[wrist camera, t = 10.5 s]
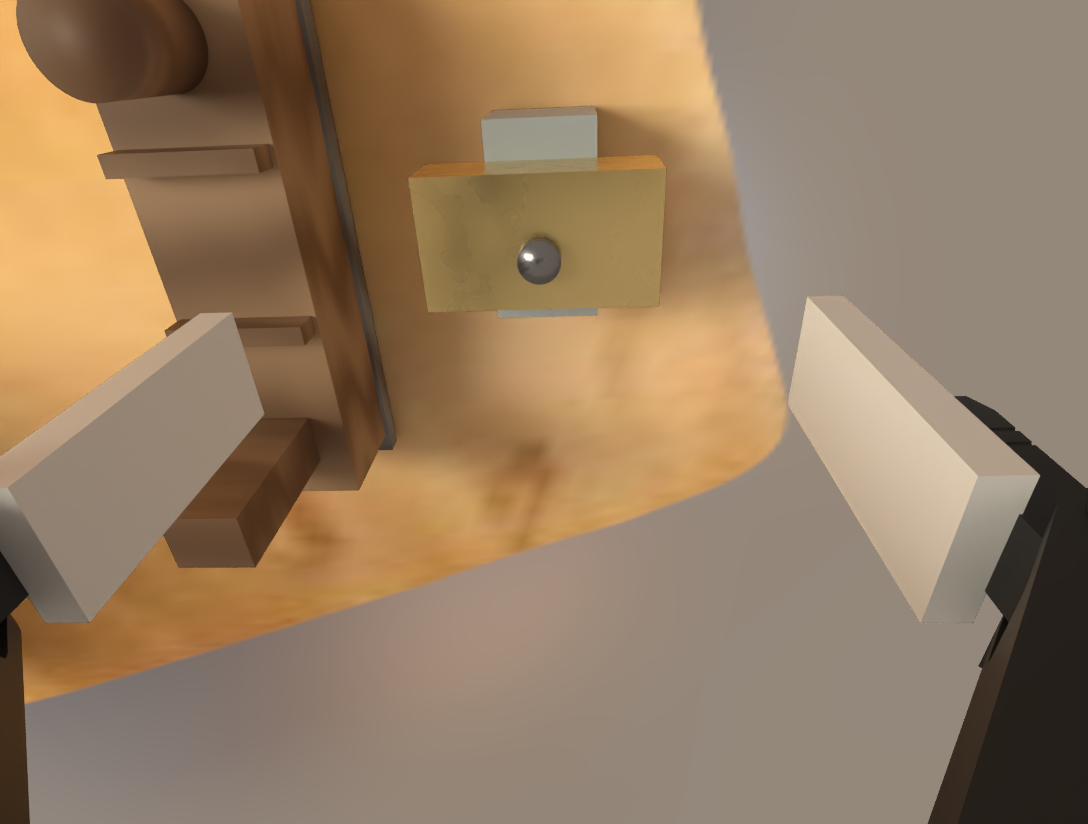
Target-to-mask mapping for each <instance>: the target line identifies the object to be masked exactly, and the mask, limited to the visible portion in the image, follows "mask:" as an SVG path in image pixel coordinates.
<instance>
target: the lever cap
mask: <svg viewBox="0 0 1088 824" xmlns="http://www.w3.org/2000/svg"><path fill="white" fill-rule="evenodd" d="M666 171H667V168H666V167H665V165H664V164H663V163H662V161H661V160H660V159H659V158H658V156H657V155H642V156H617V157H592V158H567V159H543V160H518V161H493V162H468V163H444V164H425V165H424V166H423V167H421V168H420V169H419V170H418V171H416V172H415V173H414V174H413V175H411V176H410V177H409V178H408V182H409V189H410V196H411V202H412V209H413V216H414V223H415V229H416V236H417V243H418V250H419V256H420V263H421V270H422V277H423V283H424V290H425V297H426V304H427V310H428V312H461V311H499V310H537V309H575V308H613V307H651V306H659V299H660V281H661V263H662V244H663V226H664V208H665V189H666Z"/></svg>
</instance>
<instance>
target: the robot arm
mask: <svg viewBox="0 0 1088 824" xmlns="http://www.w3.org/2000/svg"><path fill="white" fill-rule="evenodd" d="M788 406H789V407H790V409H791V411H792V412H793V414H794V415H795V417H796V419H797V420H798V422H799V424H800V425H801V427H802V429H803V430H804V432H805V433H806V435H807V437H808V438H809V440H810V442H811V443H812V445H813V447H814V448H815V450H816V452H817V453H818V455H819V457H820V458H821V460H822V462H823V463H824V465H825V466H826V468H827V470H828V471H829V473H830V475H831V476H832V478H833V479H834V481H835V483H836V485H837V486H838V488H839V489H840V491H841V493H842V494H843V496H844V498H845V499H846V501H847V503H848V504H849V506H850V508H851V509H852V511H853V513H854V514H855V516H856V518H857V519H858V521H859V522H860V524H861V526H862V527H863V529H864V531H865V532H866V534H867V536H868V537H869V539H870V540H871V542H872V544H873V545H874V547H875V549H876V550H877V552H878V554H879V555H880V557H881V559H882V560H883V562H884V564H885V565H886V567H887V569H888V570H889V572H890V573H891V575H892V577H893V578H894V580H895V582H896V583H897V585H898V587H899V588H900V590H901V592H902V593H903V595H904V596H905V598H906V600H907V601H908V603H909V605H910V606H911V608H912V610H913V611H914V613H915V615H916V616H917V618H918V620H919V621H920V623H973V622H974V620H975V618H976V616H977V614H978V611H979V609H980V607H981V605H982V603H983V600H984V598H985V596H986V594H988V596H989V597H990V598H991V600H992V601H993V602H994V604H995V605H996V606H997V608H998V609H999V610H1000V612H1001V613H1002V614H1003V617H1002V619H1001V621H1000V623H999V625H998V627H997V629H996V631H995V633H994V635H993V637H992V639H991V642H990V644H989V646H988V648H987V650H986V652H985V654H984V656H983V658H982V660H981V662H980V664H979V667H981V668H982V671H981V673H980V676H979V679H978V682H977V685H976V688H975V691H974V693H973V696H972V699H971V702H970V705H969V708H968V710H967V714H966V716H965V719H964V722H963V725H962V728H961V730H960V733H959V736H958V739H957V742H956V745H955V747H954V750H953V753H952V756H951V759H950V762H949V765H948V768H947V770H946V773H945V776H944V779H943V782H942V784H941V787H940V790H939V793H938V796H937V799H936V801H935V805H934V807H933V810H932V813H931V816H930V819H929V821H928V824H1088V488H1085V487H1084V486H1083V485H1082V484H1081V483H1079V482H1078V481H1077V480H1076V479H1075V478H1073V477H1072V476H1071V475H1070V474H1069V473H1068V472H1066V471H1065V470H1064V469H1063V468H1062V467H1061V466H1059V465H1058V464H1057V463H1056V462H1055V461H1054V460H1052V459H1051V458H1050V457H1049V456H1048V455H1047V454H1045V453H1044V452H1043V451H1042V450H1040V449H1039V448H1038V447H1037V446H1036V445H1032V444H1031V441H1030V440H1029V439H1028V438H1027V437H1026V436H1024V435H1023V434H1022V433H1021V432H1020V431H1015V427H1014V426H1013V425H1012V424H1010V423H1009V422H1008V421H1007V420H1006V419H1005V418H1003V417H1002V416H1001V415H999V413H998V412H996V411H995V410H993V409H991V408H989V407H987V406H985V405H983V404H981V403H979V402H977V401H975V400H973V399H971V398H969V397H967V396H953V395H952V394H950V393H949V392H948V391H947V390H946V389H945V388H944V387H943V386H942V385H940V383H938V382H937V381H936V380H935V379H934V378H933V377H932V376H931V375H930V374H928V373H927V372H926V371H925V370H924V369H923V368H922V367H921V366H920V365H919V364H918V363H916V362H915V361H914V360H913V359H912V358H911V357H910V356H909V355H907V353H905V352H904V351H903V350H902V349H901V348H900V347H899V346H898V345H897V344H896V343H894V342H893V341H892V340H891V339H890V338H889V337H888V336H887V335H886V334H885V333H884V332H882V331H881V330H880V329H879V328H878V327H877V326H876V325H875V324H874V323H873V322H871V321H870V320H869V319H868V318H867V317H866V316H865V315H864V314H863V313H862V312H860V311H859V310H858V309H857V308H856V307H855V306H854V305H853V304H852V303H851V302H850V301H848V300H847V299H846V298H845V297H844V296H843V295H841V296H809V297H807V302H806V307H805V313H804V318H803V324H802V329H801V335H800V340H799V346H798V351H797V357H796V362H795V367H794V373H793V379H792V384H791V389H790V395H789V400H788ZM263 415H264V411H263V408H262V405H261V402H260V398H259V395H258V392H257V389H256V386H255V383H254V380H253V377H252V373H251V370H250V367H249V364H248V361H247V358H246V355H245V351H244V348H243V345H242V342H241V339H240V336H239V333H238V330H237V326H236V323H235V320H234V317H233V314H232V312H229V313H200V314H199V315H197V316H196V317H194V318H193V319H192V320H190V321H189V322H187V323H186V324H185V325H183V326H182V327H180V328H179V329H178V330H176V331H175V332H173V333H172V334H171V335H169V336H168V337H166V338H165V339H164V340H162V341H161V342H159V343H158V344H157V345H155V346H154V347H152V348H151V349H150V350H148V351H147V352H145V353H144V354H143V355H141V356H140V357H138V358H137V359H136V360H134V361H133V362H131V363H130V364H129V365H127V366H126V367H124V368H123V369H122V370H120V371H119V372H117V373H116V374H115V375H113V376H112V377H111V378H109V379H108V380H106V381H105V382H104V383H102V384H101V385H99V386H98V387H97V388H95V389H94V390H92V391H91V392H90V393H88V394H87V395H85V396H84V397H83V398H81V399H80V400H78V401H77V402H76V403H74V404H73V405H71V406H70V407H69V408H67V409H66V410H64V411H63V412H62V413H60V414H59V415H57V416H56V417H55V418H53V419H52V420H50V421H49V422H48V423H46V424H45V425H43V426H42V427H41V428H39V429H38V430H36V431H35V432H34V433H32V434H31V435H29V436H28V437H27V438H25V439H24V440H22V441H21V442H20V443H18V444H17V445H16V446H14V447H13V448H11V449H10V450H9V451H7V452H6V453H4V454H3V455H2V456H0V824H30V819H29V797H28V774H27V751H26V729H25V708H24V685H23V663H22V640H21V630H20V628H19V626H18V624H17V622H16V621H15V620H14V618H13V617H12V615H11V614H10V613H11V612H12V611H13V610H14V609H15V608H16V607H17V606H18V605H19V604H20V603H21V602H22V601H23V600H24V599H25V598H26V597H27V596H28V598H29V599H30V601H31V602H32V604H33V605H34V607H35V608H36V610H37V611H38V613H39V614H40V616H41V617H42V619H43V620H44V622H45V623H90V622H91V621H92V619H93V618H94V617H95V616H96V615H97V613H98V612H99V611H100V610H101V609H102V607H103V606H104V605H105V604H106V603H107V601H108V600H109V599H110V598H111V597H112V595H113V594H114V593H115V592H116V591H117V589H118V588H119V587H120V586H121V585H122V584H123V582H124V581H125V580H126V579H127V578H128V576H129V575H130V574H131V573H132V572H133V570H134V569H135V568H136V567H137V566H138V564H139V563H140V562H141V561H142V560H143V558H144V557H145V556H146V555H147V554H148V552H149V551H150V550H151V549H152V548H153V546H154V545H155V544H156V543H157V542H158V541H159V539H160V538H161V537H162V536H163V535H164V533H165V532H166V531H167V530H168V529H169V527H170V526H171V525H172V524H173V523H174V521H175V520H176V519H177V518H178V517H179V515H180V514H181V513H182V512H183V511H184V509H185V508H186V507H187V506H188V505H189V504H190V502H191V501H192V500H193V499H194V498H195V496H196V495H197V494H198V493H199V492H200V490H201V489H202V488H203V487H204V486H205V484H206V483H207V482H208V481H209V480H210V478H211V477H212V476H213V475H214V474H215V472H216V471H217V470H218V469H219V468H220V466H221V465H222V464H223V463H224V462H225V461H226V459H227V458H228V457H229V456H230V455H231V453H232V452H233V451H234V450H235V449H236V447H237V446H238V445H239V444H240V443H241V441H242V440H243V439H244V438H245V437H246V435H247V434H248V433H249V432H250V431H251V429H252V428H253V427H254V426H255V425H256V424H257V422H258V421H259V420H260V419H261V418H262V416H263Z"/></svg>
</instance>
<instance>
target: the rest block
mask: <svg viewBox="0 0 1088 824" xmlns="http://www.w3.org/2000/svg"><path fill="white" fill-rule="evenodd" d="M481 128H482V140H483V151H484V162H493V161H518V160H543V159H567V158H592V157H597V112H596V109H595V107H594V106H580V107H558V108H535V109H513V110H493V111H491V112H490V113H489V114H487V115H486V116H485V117H484V118H482V119H481ZM497 312H498V318H514V317H554V316H593V315H597V308H575V309H537V310H499V311H497Z"/></svg>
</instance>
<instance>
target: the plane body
mask: <svg viewBox="0 0 1088 824" xmlns="http://www.w3.org/2000/svg"><path fill="white" fill-rule="evenodd" d="M16 17H17V25H18V29H19V33H20V36H21V39H22V42H23V44H24V46H25V48H26V51H27V52H28V54H29V56H30V58H31V59H32V61H33V62H34V64H35V65H36V66H37V68H38V69H39V70H40V71H41V73H42V74H43V75H44V76H45V77H46V78H47V79H48V80H49V81H50V82H51V83H52V84H54V85H55V86H56V87H57V88H59V89H60V90H62V91H63V92H64V93H66V94H68V95H70V96H72V97H74V98H76V99H79V100H82V101H85V102H90V103H96V105H97V107H98V110H99V113H100V115H101V118H102V121H103V123H104V126H105V129H106V132H107V134H108V137H109V140H110V142H111V145H112V148H113V150H114V151H113V152H108V153H104V154H99V155H97V157H98V159H99V162H100V165H101V167H102V170H103V172H104V175H105V178H106V179H124V180H125V183H126V185H127V188H128V191H129V193H130V196H131V199H132V202H133V204H134V207H135V210H136V212H137V215H138V218H139V220H140V223H141V226H142V229H143V231H144V234H145V237H146V239H147V242H148V245H149V247H150V250H151V253H152V255H153V258H154V261H155V264H156V266H157V269H158V272H159V274H160V277H161V280H162V282H163V285H164V288H165V290H166V293H167V296H168V299H169V301H170V304H171V307H172V309H173V312H174V315H175V317H176V320H177V322H176V323H175V324H173V325H172V326H170V327H169V328H168V329H166V330H165V333H166V336H167V337H168V336H169V335H171V334H172V333H173V332H175V331H176V330H178V329H179V328H180V327H182V326H183V325H185V324H186V323H187V322H189V321H190V320H192V319H193V318H194V317H196V316H197V315H199V314H200V313H229V312H232V314H233V317H234V320H235V323H236V326H237V330H238V333H239V336H240V339H241V342H242V345H243V348H244V351H245V355H246V358H247V361H248V364H249V367H250V370H251V373H252V377H253V380H254V383H255V386H256V389H257V392H258V395H259V398H260V402H261V405H262V408H263V411H264V415H263V416H262V418H261V419H260V420H259V421H258V422H257V424H256V425H255V426H254V427H253V428H252V429H251V431H250V432H249V433H248V434H247V435H246V437H245V438H244V439H243V440H242V441H241V443H240V444H239V445H238V446H237V447H236V449H235V450H234V451H233V452H232V453H231V455H230V456H229V457H228V458H227V459H226V461H225V462H224V463H223V464H222V465H221V466H220V468H219V469H218V470H217V471H216V472H215V474H214V475H213V476H212V477H211V478H210V480H209V481H208V482H207V483H206V484H205V486H204V487H203V488H202V489H201V490H200V492H199V493H198V494H197V495H196V496H195V498H194V499H193V500H192V501H191V502H190V504H189V505H188V506H187V507H186V508H185V509H184V511H183V512H182V513H181V514H180V515H179V517H178V518H177V519H176V520H175V521H174V523H173V524H172V525H171V526H170V527H169V529H168V530H167V531H166V532H165V533H164V537H165V539H166V541H167V544H168V546H169V548H170V550H171V552H172V554H173V556H174V558H175V561H176V563H177V565H178V567H179V568H236V567H256V565H257V564H258V562H259V561H260V559H261V557H262V556H263V554H264V552H265V551H266V549H267V547H268V546H269V544H270V543H271V541H272V539H273V538H274V536H275V534H276V533H277V531H278V529H279V528H280V526H281V525H282V523H283V521H284V520H285V518H286V516H287V515H288V513H289V511H290V510H291V508H292V507H293V505H294V503H295V502H296V500H297V498H298V497H299V495H300V493H301V492H302V491H342V490H359V489H360V487H361V485H362V483H363V481H364V479H365V477H366V475H367V473H368V471H369V469H370V466H371V464H372V462H373V460H374V458H375V456H376V454H377V452H378V450H392V449H393V447H394V445H395V443H396V435H395V429H394V424H393V419H392V414H391V409H390V404H389V399H388V394H387V389H386V384H385V379H384V374H383V369H382V364H381V359H380V354H379V349H378V344H377V338H376V333H375V328H374V323H373V318H372V313H371V308H370V303H369V298H368V293H367V288H366V283H365V278H364V273H363V268H362V263H361V258H360V253H359V248H358V242H357V237H356V232H355V227H354V222H353V217H352V212H351V207H350V202H349V197H348V192H347V187H346V182H345V177H344V172H343V167H342V162H341V157H340V151H339V146H338V141H337V136H336V131H335V126H334V121H333V116H332V111H331V106H330V101H329V96H328V91H327V86H326V81H325V76H324V71H323V66H322V60H321V55H320V50H319V45H318V40H317V35H316V30H315V25H314V20H313V15H312V10H311V5H310V0H17V7H16Z"/></svg>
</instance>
